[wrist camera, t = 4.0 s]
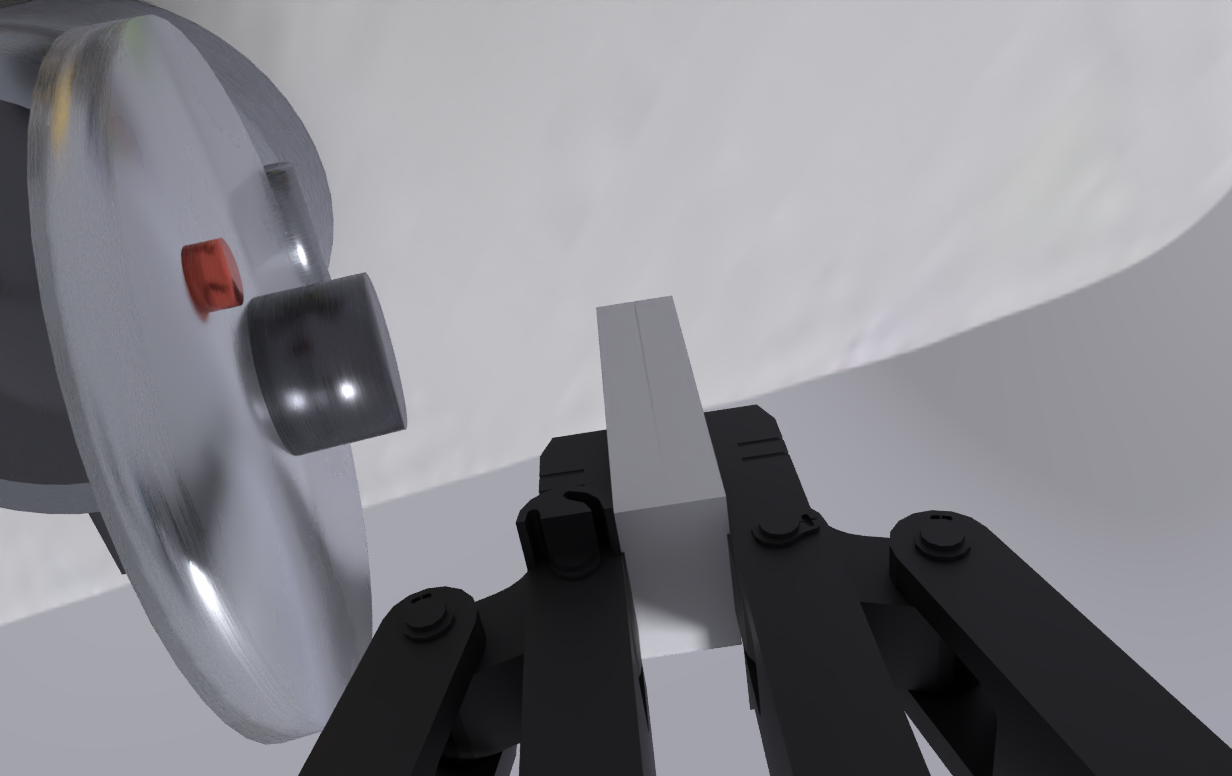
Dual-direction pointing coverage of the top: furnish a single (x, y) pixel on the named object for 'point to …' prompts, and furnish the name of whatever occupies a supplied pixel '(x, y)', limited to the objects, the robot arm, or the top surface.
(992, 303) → the top surface
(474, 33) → the top surface
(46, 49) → the pot
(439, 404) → the top surface
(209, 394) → the lid
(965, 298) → the top surface
